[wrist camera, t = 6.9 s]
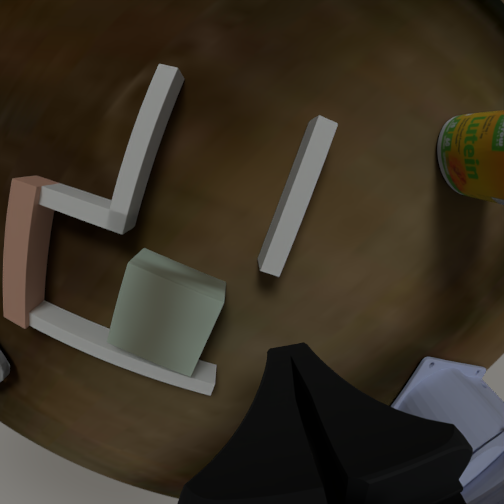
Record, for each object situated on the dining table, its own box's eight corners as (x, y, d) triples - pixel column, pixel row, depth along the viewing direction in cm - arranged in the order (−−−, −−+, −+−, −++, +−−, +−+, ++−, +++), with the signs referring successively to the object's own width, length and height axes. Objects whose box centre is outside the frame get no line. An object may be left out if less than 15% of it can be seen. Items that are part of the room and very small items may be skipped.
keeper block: (226, 280, 17) (224, 302, 15) (196, 348, 19) (190, 376, 16) (145, 246, 17) (128, 262, 14) (123, 317, 18) (106, 342, 15)
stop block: (59, 183, 15) (36, 187, 13) (43, 312, 17) (25, 329, 15) (36, 175, 15) (12, 178, 12) (22, 301, 17) (3, 316, 15)
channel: (326, 128, 15) (338, 123, 13) (226, 380, 19) (226, 399, 17) (99, 61, 13) (85, 51, 11) (43, 312, 17) (29, 325, 15)
